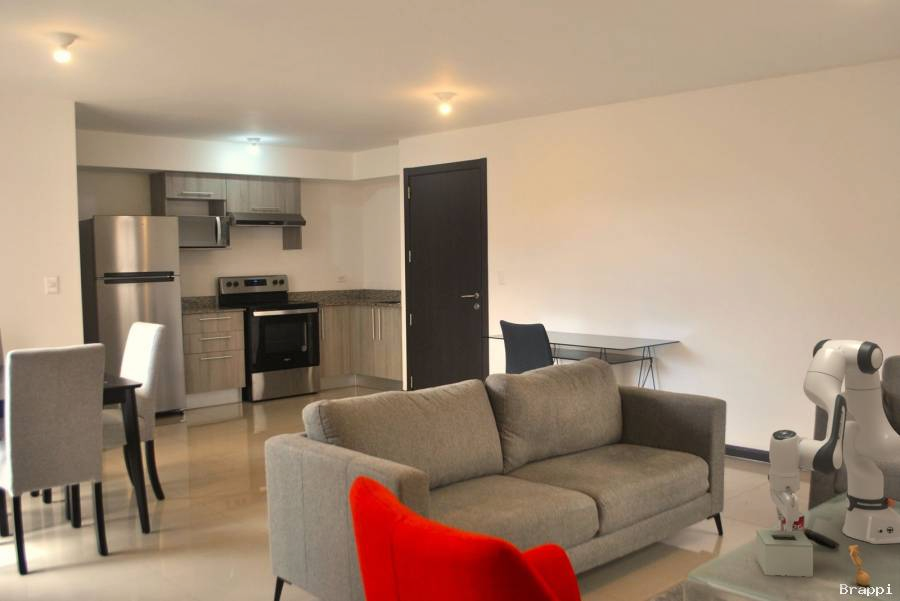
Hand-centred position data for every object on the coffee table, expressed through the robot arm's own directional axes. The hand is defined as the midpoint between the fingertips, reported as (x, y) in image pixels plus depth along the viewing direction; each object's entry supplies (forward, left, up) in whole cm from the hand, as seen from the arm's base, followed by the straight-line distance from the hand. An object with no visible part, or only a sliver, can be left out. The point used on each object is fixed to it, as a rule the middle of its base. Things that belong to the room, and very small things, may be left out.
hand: (784, 525), depth 250 cm
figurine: (-19, +10, -14) cm, 26 cm away
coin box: (0, 0, -14) cm, 14 cm away
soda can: (-7, -17, -14) cm, 23 cm away
